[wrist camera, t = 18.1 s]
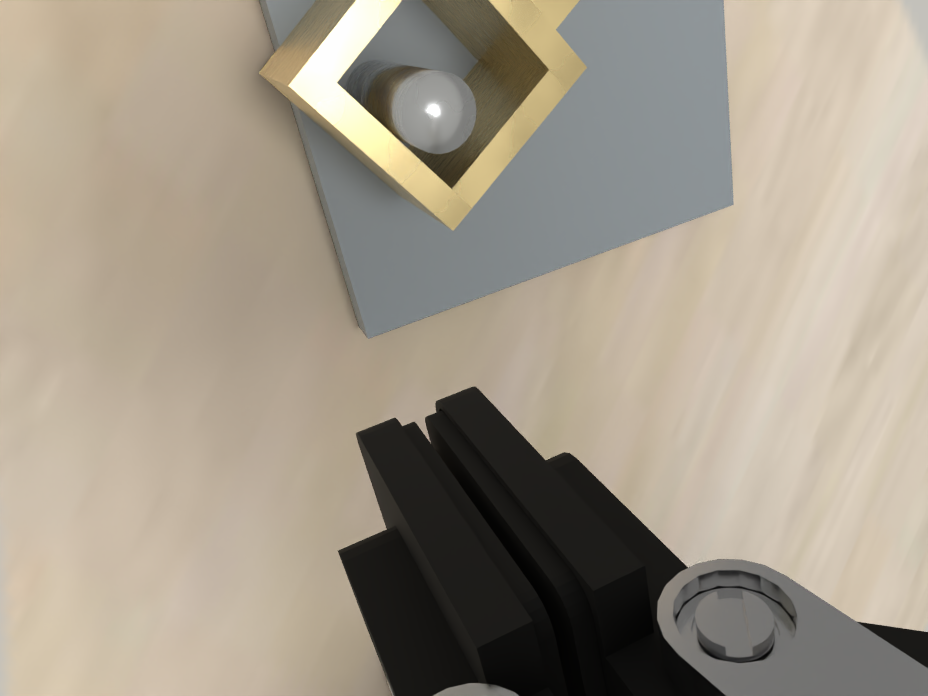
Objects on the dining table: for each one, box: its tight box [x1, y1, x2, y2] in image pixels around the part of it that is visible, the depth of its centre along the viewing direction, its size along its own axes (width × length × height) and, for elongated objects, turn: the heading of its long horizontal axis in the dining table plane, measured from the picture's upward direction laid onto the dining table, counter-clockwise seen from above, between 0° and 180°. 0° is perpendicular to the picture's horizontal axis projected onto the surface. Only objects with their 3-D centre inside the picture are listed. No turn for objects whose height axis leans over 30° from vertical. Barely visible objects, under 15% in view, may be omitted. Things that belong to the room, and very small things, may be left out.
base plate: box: [259, 0, 734, 339], centre depth 31 cm, size 20×19×2 cm
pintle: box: [345, 60, 476, 154], centre depth 27 cm, size 2×2×8 cm
